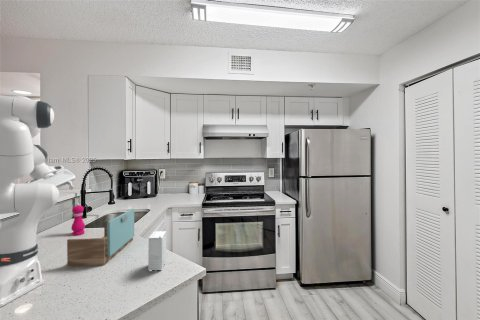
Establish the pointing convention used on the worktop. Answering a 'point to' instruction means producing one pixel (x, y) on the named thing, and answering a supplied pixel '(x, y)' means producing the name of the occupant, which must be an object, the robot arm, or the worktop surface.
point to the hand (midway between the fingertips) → (64, 192)
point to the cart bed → (89, 250)
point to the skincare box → (157, 250)
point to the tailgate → (119, 231)
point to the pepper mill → (78, 220)
